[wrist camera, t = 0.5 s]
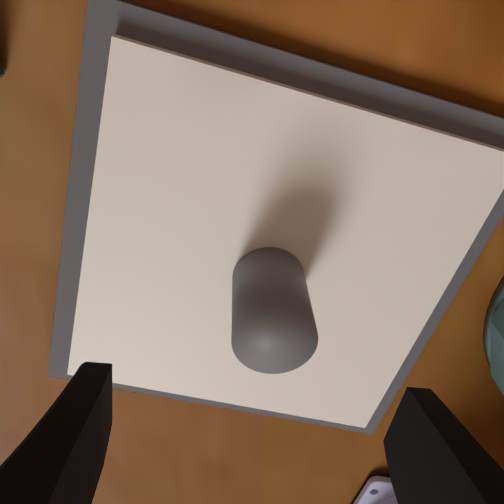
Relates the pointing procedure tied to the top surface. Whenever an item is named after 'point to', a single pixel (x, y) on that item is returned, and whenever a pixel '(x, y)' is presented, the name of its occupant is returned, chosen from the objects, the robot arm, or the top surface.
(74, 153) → the mat
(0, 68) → the coffee box
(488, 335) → the bowl
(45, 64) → the top surface
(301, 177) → the lid
